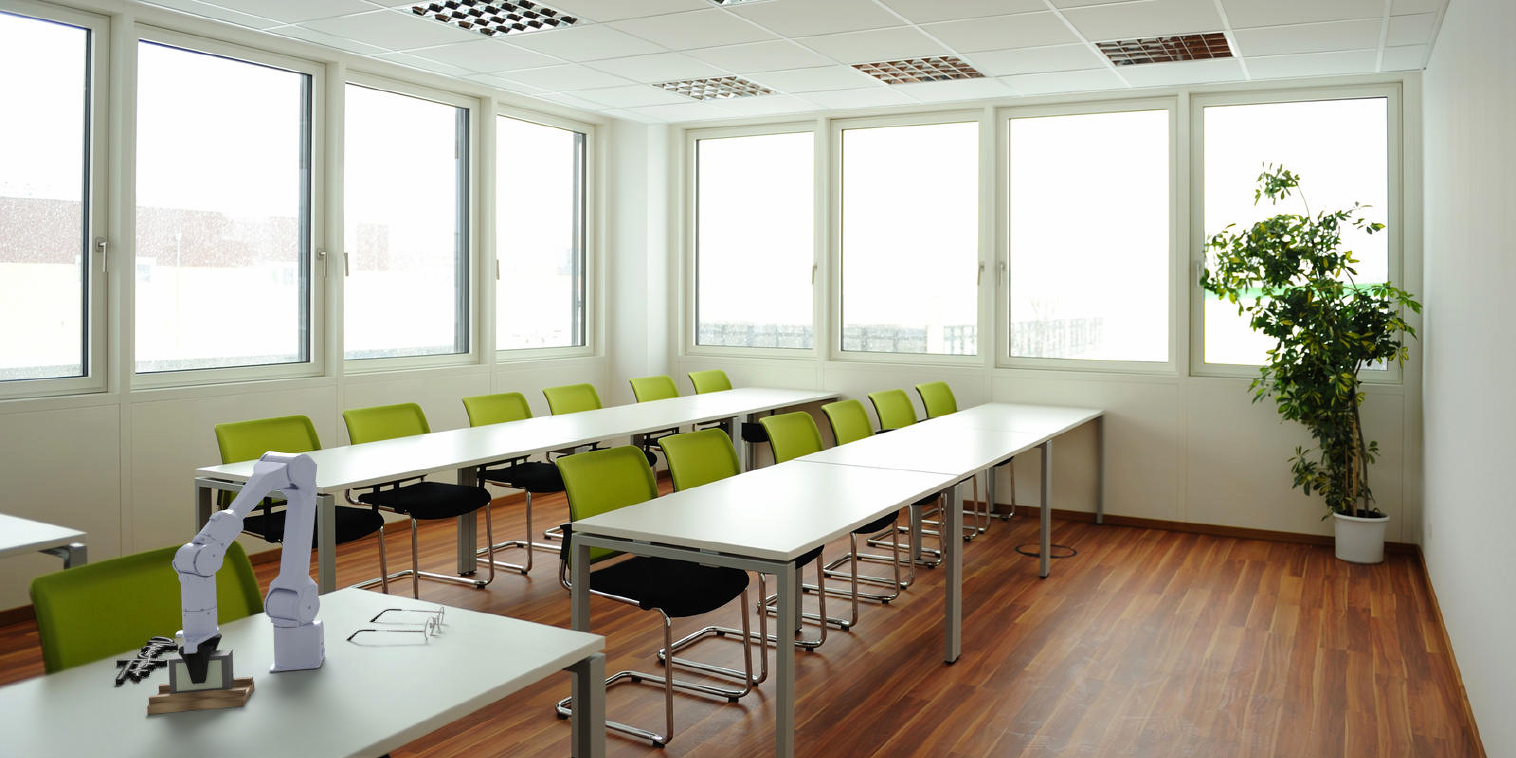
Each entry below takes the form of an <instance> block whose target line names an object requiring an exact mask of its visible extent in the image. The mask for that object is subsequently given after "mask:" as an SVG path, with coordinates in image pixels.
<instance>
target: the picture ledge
mask: <svg viewBox="0 0 1516 758" xmlns="http://www.w3.org/2000/svg"><path fill="white" fill-rule="evenodd" d="M254 690H255V680H254V676H244V677H234V686H233V687H232V689H225V690H213V691H201V692H189V693H177V694H170V684H169V682H167V683H160V684H159V685H158V692H157V694H154V695H150V696H149V697H148V705H147V707H146V709H147V711H146V713H147V715H153V714H165V713H178V712H188V711H189V712H191V711H199V710H200V711H201V710H210V709H211V710H212V709H222V708H223V709H224V708H234V707H235V708H236V707H244V706H245V705H246V704H247V701H248V700H249V698H250V697H251V695H252V693H253V692H254Z"/></svg>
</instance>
